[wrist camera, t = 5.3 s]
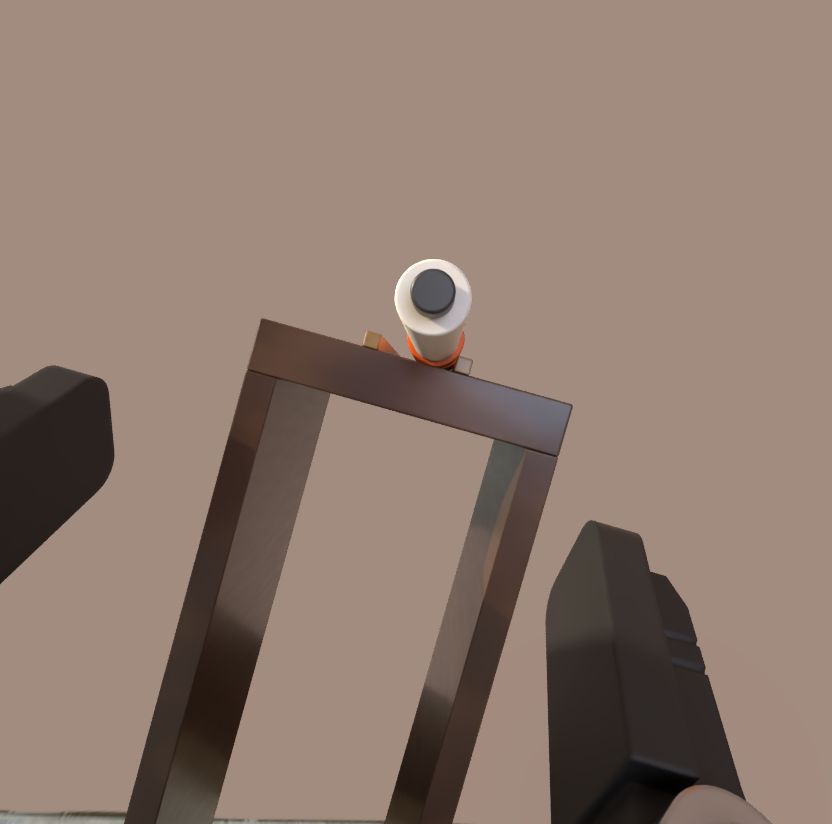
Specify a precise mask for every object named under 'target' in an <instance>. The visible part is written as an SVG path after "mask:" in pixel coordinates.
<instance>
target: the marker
mask: <svg viewBox="0 0 832 824" xmlns="http://www.w3.org/2000/svg"><path fill="white" fill-rule="evenodd" d="M471 303H472V291H471V287H470V284H469V281H468V279H467V278H466V276H465V275H464V273H463V272H462V271H461V270H460V269H459V268H458V267H456V266H455V265H453V264H451V263H449V262H447V261H444V260H438V259H429V260H424V261H421V262H418V263H416V264H414V265H413V266H411V267H410V268H409V269H407V270H406V272H405V273H404V274H403V275H402V277H401V278H400V280H399V282H398V284H397V287H396V291H395V305H396V309H397V312H398V314H399V317H400V319H401V321H402V323H403V325H404V327H405V329H406V331H407V333H408V337H407V341H408V346H409V349H410V351H411V353H412V355H413V356H414V358H415V360H416V361H418V362H421V363H425V364H428V365H432V366H436V367H439V368H443V369H446V370H450V371H451V370H452V369H453V366H454V364H455V362H456V359H457V357H458V356H459V355H460V353H461V351H462V348H463V345H464V332H463V329H464V327H465V324H466V321H467V318H468V315H469V312H470V308H471Z"/></svg>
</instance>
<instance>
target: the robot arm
mask: <svg viewBox="0 0 832 824" xmlns="http://www.w3.org/2000/svg"><path fill="white" fill-rule="evenodd" d="M113 462H114V444H113V433H112V422H111V411H110V401H109V392H108V387H107V385H106V383H105V382H104V381H103V380H102V379H100V378H98V377H94V376H91V375H87V374H84V373H80V372H76V371H73V370H70V369H66V368H63V367H59V366H55V365H54V366H47V367H45V368H43V369H41V370H39V371H38V372H36V373H34V374H33V375H31V376H29V377H28V378H26V379H24V380H23V381H21V382H19V383H18V384H16V385H14V386H7V387H4V388H0V584H1V583H2V582H3V581H4V580H5V579H6V578H7V577H8V576H9V575H10V574H11V573H12V572H13V571H14V570H16V568H17V567H19V566H20V565H21V564H22V563H23V562H24V561H25V560H26V559H27V558H28V557H29V556H30V555H31V554H32V553H33V552H34V551H35V550H37V548H39V547H40V546H41V545H42V544H43V543H44V542H45V541H46V540H47V539H48V538H49V537H50V536H51V535H52V534H53V533H54V532H55V531H56V530H58V529H59V528H60V527H61V526H62V525H63V524H64V523H65V522H66V521H67V520H68V519H69V518H70V517H71V516H72V515H73V514H74V513H75V512H76V511H77V510H79V509H80V508H81V506H83V505H84V504H85V503H86V502H87V501H88V500H89V499H90V498H91V497H92V496H93V495H94V494H95V493H96V492H97V491H98V490H99V489H100V488H101V487H102V486H103V485H104V483H105V482H106V480H107V478H108V476H109V474H110V472H111V469H112V466H113ZM696 642H697V637H696V634H695V631H694V628H693V624H692V621H691V617H690V614H689V610H688V608H687V606H686V605H685V603H684V602H683V600H682V599H681V597H680V596H679V594H678V593H677V592H676V590H675V589H674V587H673V586H672V584H671V583H670V581H669V580H668V578H667V577H666V576H663V575H660V574H656V573H653V572H650V570H649V565H648V561H647V557H646V553H645V549H644V545H643V541H642V538H641V537H640V535H639V534H637V533H634V532H631V531H627V530H624V529H620V528H617V527H613V526H610V525H606V524H603V523H599V522H596V521H592V520H591V521H588V522H587V523H586V524H585V526H584V527H583V528H582V530H581V532H580V534H579V536H578V538H577V540H576V542H575V544H574V546H573V548H572V549H571V551H570V553H569V555H568V557H567V559H566V561H565V563H564V565H563V567H562V569H561V571H560V572H559V574H558V576H557V578H556V580H555V582H554V584H553V587H552V589H551V593H550V596H549V600H548V605H547V611H546V655H547V690H548V726H549V762H550V795H551V824H772V823H771V822H770V821H769V820H768V819H767V818H766V817H765V816H764V815H763V814H762V813H761V812H759V811H758V810H757V809H756V808H754V807H753V806H752V805H751V804H749V803H748V802H746V799H745V797H744V794H743V791H742V788H741V785H740V782H739V778H738V775H737V772H736V769H735V765H734V762H733V758H732V755H731V752H730V748H729V745H728V741H727V738H726V735H725V731H724V728H723V725H722V721H721V718H720V715H719V711H718V708H717V705H716V701H715V698H714V695H713V691H712V688H711V684H710V681H709V678H708V676H707V675H705V664H704V661H703V658H702V654H701V651H700V648H699V647H698V646H696Z"/></svg>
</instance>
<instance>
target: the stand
mask: <svg viewBox="0 0 832 824" xmlns="http://www.w3.org/2000/svg"><path fill="white" fill-rule="evenodd" d="M472 363H473V360H471V359H468V358H464V357H461V356H458V357H457V359H456V362H455V364H454V366H453V369H452V371H450V370H446V369H443V368H439V367H436V366H432V365H428V364H425V363H421V362H418V361H414V360H410V359H407V358H403V357H400V355H399V354H398V353H397V352H396V351H395V350H394V349H393V348H392V347H391V345H390V344H389V343H388V342H387V341H386V340H385V339H384V338H383V337H382V335H380V334H378V333H374V332H371V331H367V332H366V334H365V338H364V341H363V346H360V345H357V344H353V343H349V342H346V341H342V340H339V339H335V338H332V337H328V336H324V335H321V334H317V333H313V332H310V331H306V330H303V329H299V328H295V327H292V326H288V325H285V324H281V323H278V322H274V321H270V320H267V319H263V318H262V319H260V322H259V326H258V330H257V333H256V337H255V341H254V344H253V348H252V352H251V356H250V359H249V363H248V367H247V369H248V370H247V371H246V373H245V377H244V381H243V384H242V388H241V392H240V396H239V399H238V403H237V407H236V410H235V414H234V418H233V422H232V425H231V429H230V433H229V436H228V440H227V444H226V447H225V451H224V455H223V459H222V462H221V466H220V470H219V473H218V477H217V481H216V485H215V488H214V492H213V496H212V499H211V503H210V507H209V511H208V514H207V518H206V522H205V525H204V529H203V533H202V536H201V540H200V544H199V548H198V551H197V555H196V559H195V562H194V566H193V570H192V574H191V577H190V581H189V585H188V588H187V592H186V596H185V600H184V603H183V607H182V611H181V614H180V618H179V622H178V625H177V629H176V633H175V637H174V640H173V644H172V648H171V651H170V655H169V660H168V663H167V667H166V670H165V674H164V678H163V681H162V685H161V689H160V692H159V696H158V700H157V703H156V707H155V711H154V714H153V718H152V722H151V726H150V729H149V733H148V737H147V740H146V744H145V748H144V752H143V756H142V759H141V763H140V767H139V770H138V774H137V778H136V781H135V785H134V789H133V793H132V796H131V800H130V803H129V807H128V811H127V815H126V818H125V822H124V824H212V822H213V819H214V815H215V811H216V808H217V804H218V800H219V797H220V793H221V789H222V786H223V782H224V779H225V775H226V771H227V767H228V764H229V760H230V757H231V753H232V749H233V746H234V742H235V738H236V735H237V731H238V728H239V724H240V720H241V717H242V713H243V709H244V706H245V702H246V699H247V695H248V691H249V687H250V684H251V680H252V676H253V673H254V669H255V666H256V662H257V659H258V655H259V651H260V647H261V644H262V640H263V637H264V633H265V629H266V625H267V622H268V619H269V615H270V611H271V607H272V604H273V600H274V597H275V593H276V589H277V586H278V582H279V579H280V575H281V571H282V568H283V564H284V560H285V557H286V553H287V549H288V546H289V542H290V539H291V535H292V531H293V528H294V524H295V520H296V517H297V513H298V509H299V506H300V502H301V498H302V495H303V491H304V488H305V484H306V480H307V477H308V473H309V469H310V466H311V462H312V459H313V455H314V451H315V447H316V444H317V440H318V437H319V433H320V430H321V426H322V422H323V418H324V415H325V411H326V408H327V404H328V400H329V397H330V393H332V394H336V395H339V396H342V397H346V398H350V399H353V400H357V401H360V402H364V403H367V404H371V405H375V406H378V407H381V408H385V409H389V410H392V411H396V412H399V413H403V414H406V415H410V416H413V417H417V418H420V419H424V420H428V421H431V422H435V423H439V424H442V425H446V426H449V427H452V428H456V429H459V430H463V431H467V432H470V433H474V434H477V435H481V436H484V437H488V438H491V439H494V442H493V445H492V449H491V452H490V456H489V459H488V463H487V466H486V470H485V474H484V477H483V480H482V484H481V488H480V491H479V494H478V498H477V501H476V505H475V508H474V512H473V515H472V519H471V523H470V526H469V529H468V533H467V536H466V540H465V543H464V547H463V551H462V554H461V557H460V561H459V564H458V568H457V571H456V575H455V579H454V582H453V586H452V589H451V592H450V596H449V599H448V603H447V606H446V610H445V613H444V617H443V620H442V624H441V628H440V631H439V634H438V638H437V642H436V645H435V648H434V652H433V655H432V659H431V662H430V666H429V670H428V673H427V676H426V680H425V683H424V687H423V691H422V694H421V697H420V701H419V705H418V708H417V711H416V715H415V718H414V722H413V725H412V729H411V732H410V736H409V739H408V743H407V746H406V750H405V754H404V757H403V761H402V764H401V767H400V771H399V774H398V778H397V781H396V785H395V789H394V792H393V795H392V799H391V802H390V806H389V809H388V813H387V816H386V820H385V823H384V824H452V822H453V819H454V815H455V812H456V808H457V805H458V801H459V798H460V794H461V791H462V788H463V784H464V781H465V777H466V774H467V770H468V767H469V763H470V760H471V757H472V753H473V750H474V746H475V743H476V739H477V736H478V732H479V728H480V725H481V722H482V719H483V715H484V712H485V708H486V705H487V701H488V698H489V695H490V691H491V688H492V684H493V681H494V677H495V674H496V670H497V667H498V663H499V660H500V657H501V653H502V650H503V646H504V643H505V639H506V636H507V632H508V629H509V626H510V622H511V619H512V615H513V612H514V608H515V605H516V601H517V598H518V594H519V591H520V587H521V584H522V581H523V577H524V574H525V570H526V567H527V563H528V560H529V556H530V553H531V550H532V546H533V543H534V539H535V536H536V532H537V529H538V525H539V522H540V518H541V515H542V512H543V508H544V505H545V501H546V497H547V494H548V491H549V487H550V484H551V481H552V477H553V474H554V470H555V466H556V463H557V460H558V458H557V456H558V455H559V452H560V449H561V445H562V442H563V439H564V435H565V432H566V428H567V424H568V421H569V417H570V414H571V411H572V407H573V406H572V405H571V404H568V403H565V402H561V401H558V400H554V399H551V398H547V397H543V396H540V395H536V394H533V393H529V392H525V391H522V390H518V389H515V388H511V387H507V386H504V385H500V384H496V383H493V382H489V381H485V380H482V379H479V378H475V377H472V376H468V375H469V374H470V370H471V367H472Z"/></svg>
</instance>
